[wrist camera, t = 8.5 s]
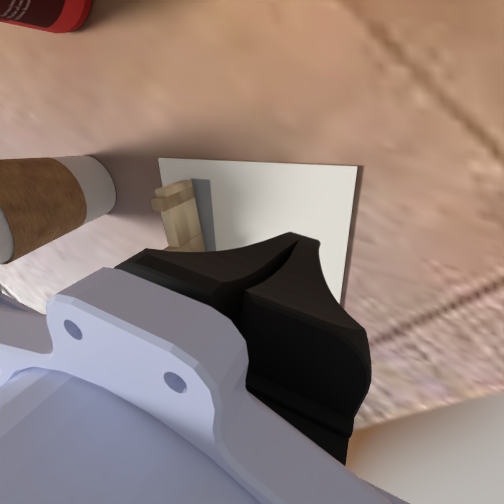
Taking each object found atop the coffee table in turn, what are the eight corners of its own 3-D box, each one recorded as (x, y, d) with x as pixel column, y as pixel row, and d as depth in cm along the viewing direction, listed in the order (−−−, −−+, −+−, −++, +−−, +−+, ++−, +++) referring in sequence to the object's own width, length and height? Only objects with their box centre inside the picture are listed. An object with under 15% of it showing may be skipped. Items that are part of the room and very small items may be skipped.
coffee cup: (107, 134, 26) (-150, 159, 14) (137, 224, 29) (-49, 310, 17) (50, 147, 30) (-194, 177, 17) (82, 226, 33) (-104, 298, 20)
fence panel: (212, 285, 28) (188, 310, 24) (202, 284, 28) (178, 308, 25) (191, 179, 24) (159, 191, 20) (180, 180, 24) (147, 191, 21)
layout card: (329, 381, 28) (329, 384, 27) (188, 337, 34) (187, 339, 33) (357, 165, 19) (357, 166, 19) (160, 157, 25) (157, 158, 24)
